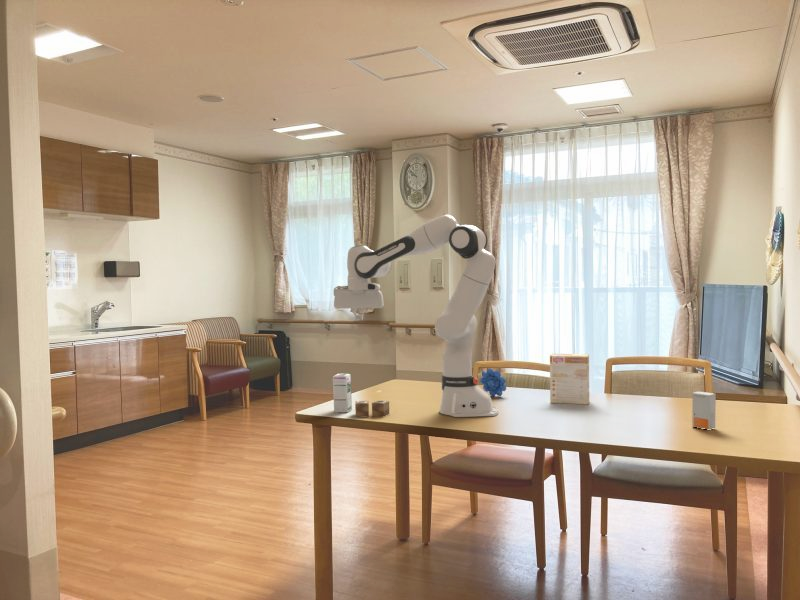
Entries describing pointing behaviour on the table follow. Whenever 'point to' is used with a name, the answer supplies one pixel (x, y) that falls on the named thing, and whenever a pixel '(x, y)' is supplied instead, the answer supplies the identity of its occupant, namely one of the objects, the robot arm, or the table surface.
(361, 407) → the walnut block one
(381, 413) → the walnut block two
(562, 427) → the table surface
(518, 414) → the table surface
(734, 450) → the table surface
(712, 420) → the skincare box
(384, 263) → the robot arm
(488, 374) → the blue gear wheel
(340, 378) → the syrup box
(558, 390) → the coffeecake box
